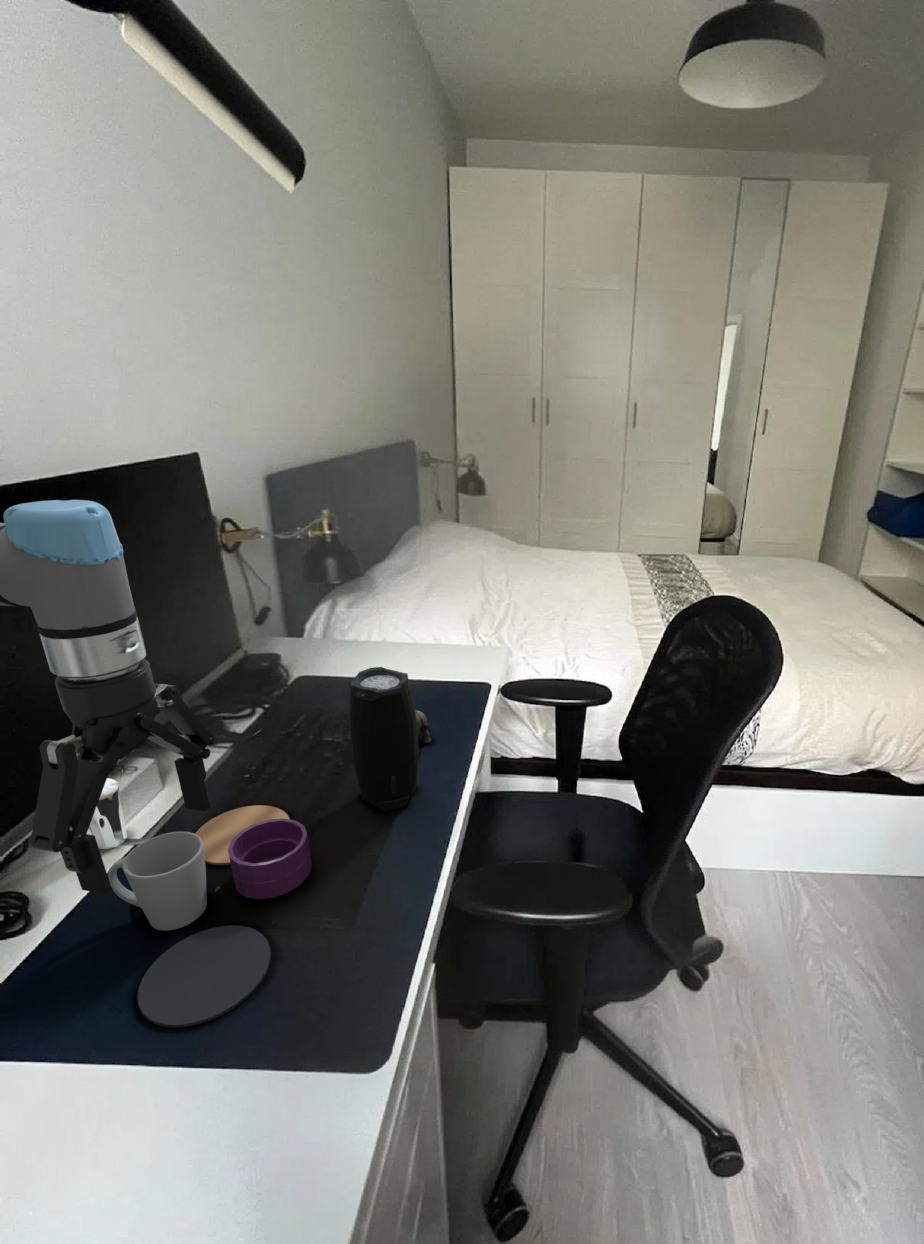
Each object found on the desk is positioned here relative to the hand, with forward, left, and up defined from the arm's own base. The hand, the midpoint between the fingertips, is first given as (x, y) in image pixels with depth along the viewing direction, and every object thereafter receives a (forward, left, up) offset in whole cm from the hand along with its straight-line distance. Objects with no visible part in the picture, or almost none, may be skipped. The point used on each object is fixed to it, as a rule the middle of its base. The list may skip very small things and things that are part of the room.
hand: (152, 845), depth 68 cm
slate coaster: (+10, -6, -10) cm, 15 cm away
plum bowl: (+8, +8, -10) cm, 15 cm away
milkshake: (-16, +9, -10) cm, 21 cm away
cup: (0, 0, -10) cm, 10 cm away
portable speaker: (+14, +27, -10) cm, 32 cm away
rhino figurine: (+7, +44, -10) cm, 46 cm away
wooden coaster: (-1, +14, -10) cm, 17 cm away
